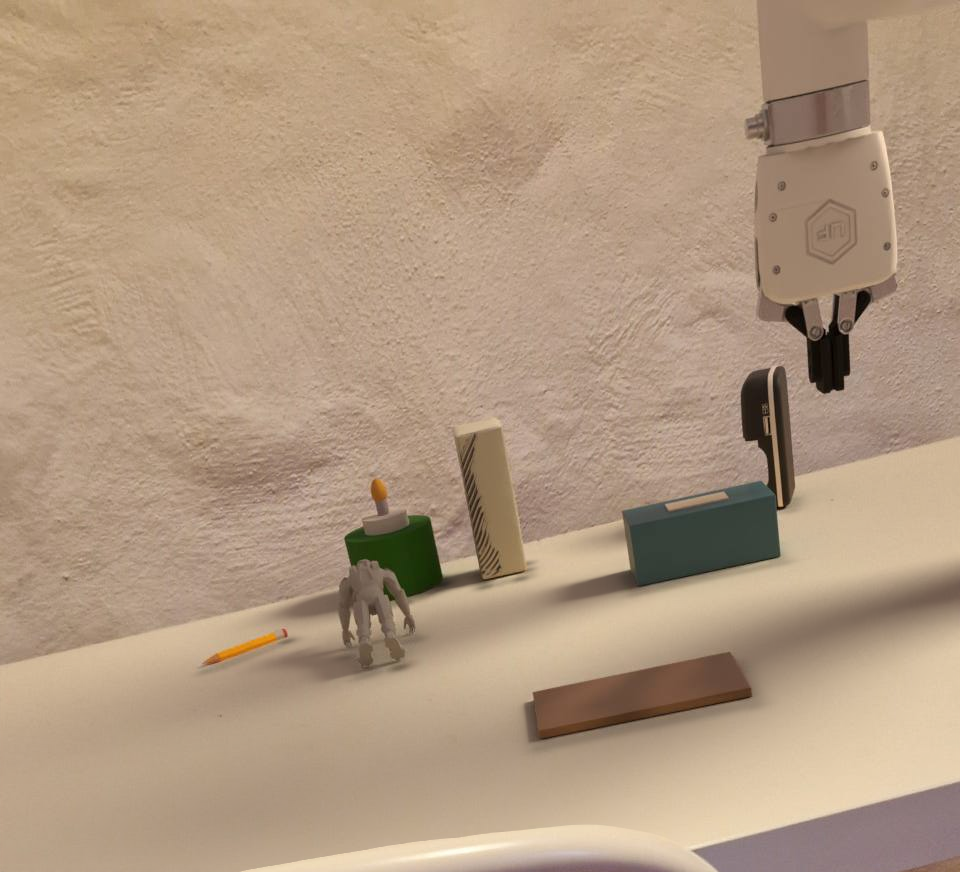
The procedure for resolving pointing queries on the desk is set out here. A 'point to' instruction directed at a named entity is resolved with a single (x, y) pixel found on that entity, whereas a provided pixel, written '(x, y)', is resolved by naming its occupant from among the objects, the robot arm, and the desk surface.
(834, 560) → the desk surface
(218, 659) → the pencil
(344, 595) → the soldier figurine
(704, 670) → the brown wooden plank
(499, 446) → the box
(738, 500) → the tissue box
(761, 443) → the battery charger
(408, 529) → the candle
